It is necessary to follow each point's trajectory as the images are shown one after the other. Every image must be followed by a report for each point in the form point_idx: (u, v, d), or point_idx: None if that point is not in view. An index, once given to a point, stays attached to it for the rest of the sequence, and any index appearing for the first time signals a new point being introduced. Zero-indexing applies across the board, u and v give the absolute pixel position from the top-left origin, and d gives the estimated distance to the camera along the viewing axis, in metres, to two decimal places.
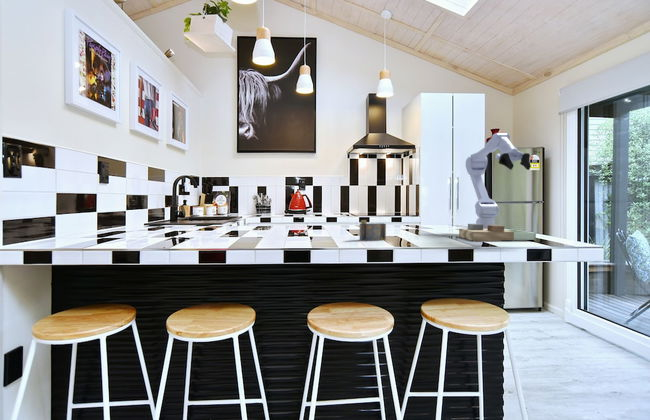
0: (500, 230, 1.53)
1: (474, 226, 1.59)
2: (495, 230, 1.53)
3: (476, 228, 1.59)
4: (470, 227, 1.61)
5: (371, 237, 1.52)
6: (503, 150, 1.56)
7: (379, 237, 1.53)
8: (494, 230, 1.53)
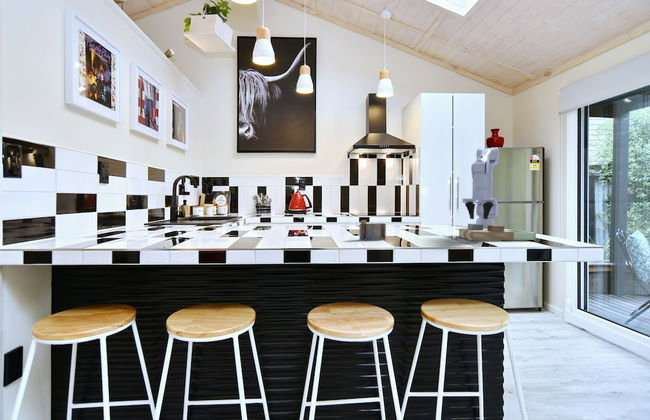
0: (500, 230, 1.53)
1: (474, 226, 1.59)
2: (495, 230, 1.53)
3: (476, 228, 1.59)
4: (470, 227, 1.61)
5: (371, 237, 1.52)
6: (473, 191, 1.53)
7: (379, 237, 1.53)
8: (494, 230, 1.53)
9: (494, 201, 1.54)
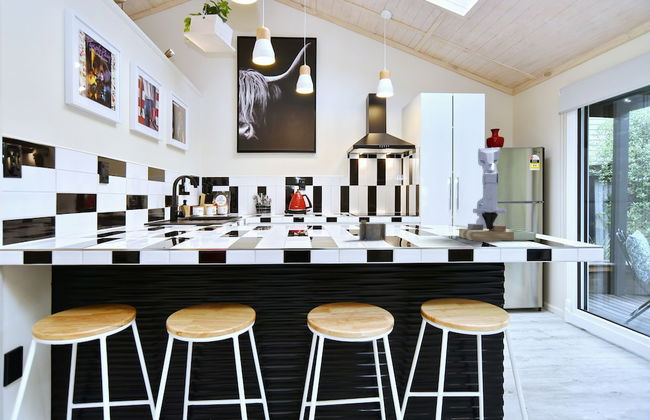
0: (501, 230, 1.53)
1: (474, 226, 1.59)
2: (496, 230, 1.53)
3: (476, 228, 1.59)
4: (470, 227, 1.61)
5: (371, 237, 1.52)
6: (484, 201, 1.54)
7: (379, 237, 1.53)
8: (495, 230, 1.53)
9: (505, 211, 1.54)
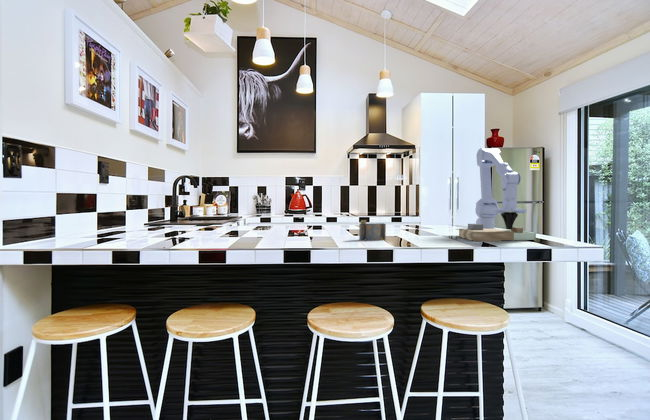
0: None
1: (474, 226, 1.59)
2: (518, 230, 1.53)
3: (476, 228, 1.59)
4: (470, 227, 1.61)
5: (371, 237, 1.52)
6: (504, 201, 1.54)
7: (379, 237, 1.53)
8: (518, 229, 1.53)
9: (524, 211, 1.54)
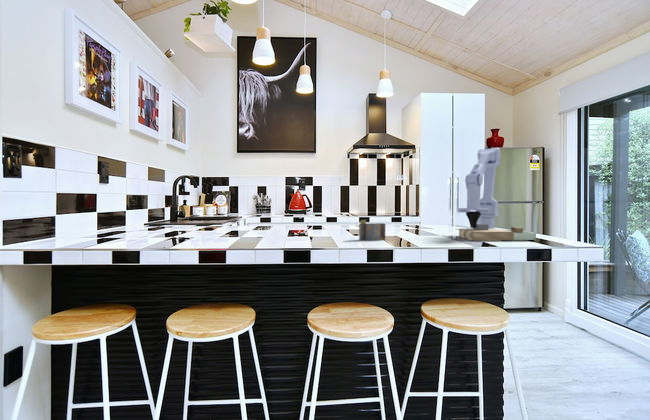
0: None
1: (479, 226, 1.59)
2: (518, 230, 1.53)
3: (481, 228, 1.59)
4: (475, 227, 1.62)
5: (371, 237, 1.52)
6: (468, 201, 1.61)
7: (379, 237, 1.53)
8: (518, 229, 1.53)
9: (488, 211, 1.61)
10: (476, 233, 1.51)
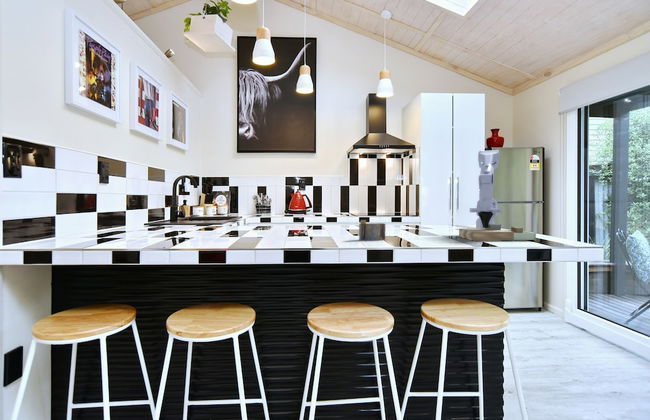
0: None
1: (492, 226, 1.60)
2: (518, 230, 1.53)
3: (494, 228, 1.60)
4: None
5: (370, 237, 1.52)
6: (480, 201, 1.61)
7: (379, 237, 1.53)
8: (518, 229, 1.53)
9: (500, 211, 1.61)
10: (476, 233, 1.51)
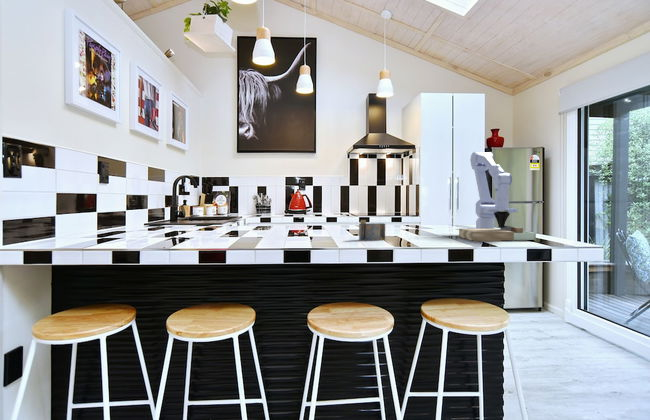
0: None
1: (510, 228, 1.59)
2: (518, 230, 1.53)
3: (507, 229, 1.59)
4: None
5: (370, 237, 1.52)
6: (496, 201, 1.61)
7: (379, 237, 1.53)
8: (518, 229, 1.53)
9: (516, 211, 1.61)
10: (476, 233, 1.51)
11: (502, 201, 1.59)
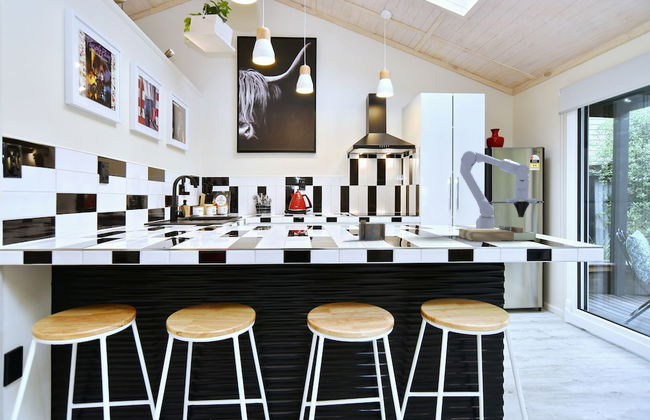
0: None
1: (508, 228, 1.59)
2: (518, 230, 1.53)
3: (506, 230, 1.59)
4: (504, 226, 1.61)
5: (370, 237, 1.52)
6: (516, 192, 1.68)
7: (378, 237, 1.53)
8: (518, 229, 1.53)
9: (535, 201, 1.68)
10: (476, 233, 1.51)
11: (522, 191, 1.66)
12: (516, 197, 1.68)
